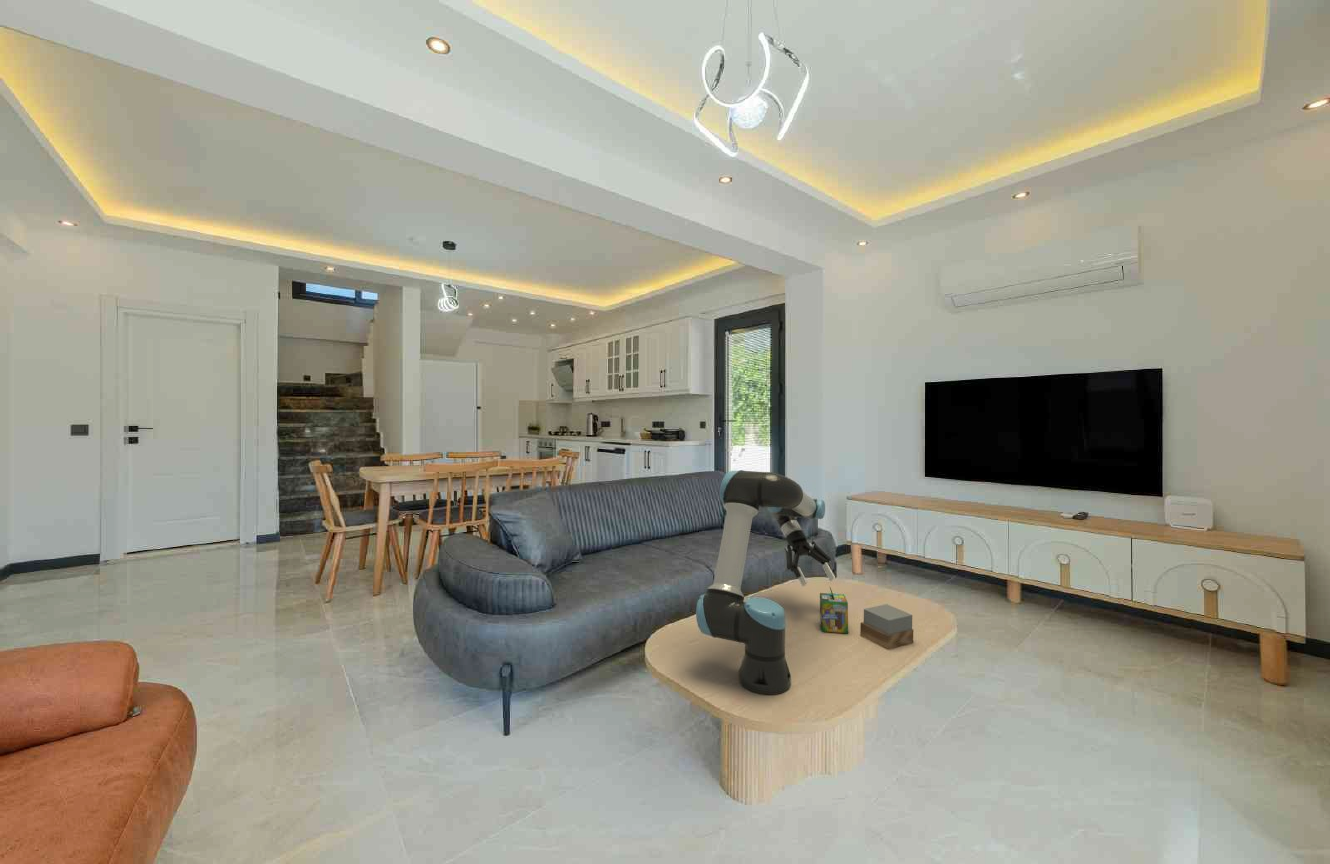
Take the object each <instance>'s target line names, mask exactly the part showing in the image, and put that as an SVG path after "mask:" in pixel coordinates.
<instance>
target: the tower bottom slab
mask: <svg viewBox="0 0 1330 864" xmlns="http://www.w3.org/2000/svg"><path fill="white" fill-rule="evenodd" d="M859 635H860V637H862V638H864V639H866V640H867V641H870V642H872V643H874V644H876V645H878V646H880V647H882V648H883V649H885V650H887V651H889V650H893V649H895V648H899V647H900V648H901V647H903V646H907V645H911V644H914V629H913V628H912V629H911V630H907V631H903V632H899V633H895V634H892V635H887V634H885V633H883V632H881V631H879V630H877V629H875V628H873V627H871V626H869V625H867V624H865V623H864V621H862V622H860V633H859Z"/></svg>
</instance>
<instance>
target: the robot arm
mask: <svg viewBox="0 0 1330 864" xmlns="http://www.w3.org/2000/svg"><path fill="white" fill-rule="evenodd" d="M719 492H720V493H719V499H720V502H721V503H722V504H723V508H724V510H725V511H726V516H725V520H724V525H723V526H724V527H723V532H722V537H721V540H720V541H721V542H720V548H719V552H718V557H717V561H716V562H717V563H716V568H715V572H714V578H713V582H712V585H710V586H708V587H707V588H706V589H707V590H706V593H704V594H701V595H700V596H699V599H698V600H697V603H696V610H695V617H696V624H697V627H698V629H699V631H700V632H701V633H702V634H704V635H706V636H710V637H712V638H715V639H716V638H718V639H722V640H725V641H726V640H727V641H731V642H736V643H741V644H743V645H744V655H743V658H742V661H741V664H740V667H739V670H738V681H739V684H740V685H741V686H742V687H743V688H745V689H746V690H748V691H750V692H752V693H755V694H760V695H761V694H762V695H778V694H782V693H785V692H786V691H788V690H789V689H790V688H791V685H792V675H791V672H790V669H789V666H788V665H789V664H788V663H787V659H786V653H785V652H786V625H787V623H786V616H785V615H786V613H785V610H784V608H783V607H782V606H781V605H780V604H779V603H778V602H776V601H774V600H772V599H770V598H765V597H761V596H759V597H755V596H753V597H748V598H747V599H746V600H745V595H744V594H743V592H742V591H741V588H742V587H741V586H742V582H743V576H744V571H745V565H746V559H747V552H748V548H749V547H748V546H749V539H750V535H751V531H752V530H751V529H752V523H753V518H754V517H755V516H757V515H758V514H759V510H760V508H767V510H768V511H769V512H770V514H771V515H772V517H773V518H774V519H775V521H776V522H777V524H778V527H779V529H780V531H781V533H782V534H783V536H784V538H785V540H786V542H787V545H786V546H785V548H784V551H785V555H786V570H789V571H791V572H793V573H794V575H795V577H796V578H798V580H799V582H800V584H801V586H802V587H805V586H807V584H808V581H807V579H806V577H805V575H804V573H803V571H802V570H801V567H800V566H798V564H799V560H800V557H802V556H808V557H811V558H813V559H814V560H816V561H817V562H818V563H820V564H821V565H822V569H823V571H824V572H825V574H826V576H827V577H828V580H829V581H830V582H831V581H833V580H834V579H835V578H836V576H835V574H834V572H833V571H832V569H833V568H832V567H831V564H830V563H829V562H830V561H832V558H831V556H829V555H828V554H827V553H826V552H824V550H823V549H821V548H820V547H819V545H817V543H816V542H815V541H814V540H812V541H811V542H808V541H807V536H806V534H805V533H804V531H803V530H802V527H801V525H800V524H799V522H798V520H797V518H803V519H812V520H813V519H814V520H822V519H824V517H825V514H826V504H825V501H824V500H823V499H818V498H812V497H810V496H809V495H808V494H807V493H806V492H805V491H804V490H803V488H802V487H801V485H800V484H799V483H798V482H796V481H795V480H793V479H791V478H789V477H787V476H784V475H782V474H780V473H777V472H772V471H770V472H769V471H767V472H766V471H754V470H753V471H752V470H744V469H740V470H730V471H728V472H727V473H726V474H725V475H724V476H723V479H722V480H721V484H720V488H719ZM793 553H794V554H793Z"/></svg>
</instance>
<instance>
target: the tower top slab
mask: <svg viewBox="0 0 1330 864" xmlns="http://www.w3.org/2000/svg"><path fill="white" fill-rule="evenodd" d="M863 622H864V623H865V624H867V625H869V626H871V627H873V628H875V629H877V630H879V631H881V632H883V633H885V634H887V635H892V634H895V633H899V632H903V631H907V630H911V629H913V614H912V613H908V612H906V611H904V610H901V609H899V608H898V607H895V606H892V605H890V604H888V603H885V604H881V605H876V606H871V607H866V608H863Z"/></svg>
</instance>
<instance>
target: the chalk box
mask: <svg viewBox="0 0 1330 864" xmlns="http://www.w3.org/2000/svg"><path fill="white" fill-rule="evenodd" d="M829 589H830V592H828V593H827V592H826V593H825V592H820V593H819V625H820V629H821V632H822V633H833V634H835V633H837V634H849V613H848V612H849V610H848V609H849V603H848V600H847V598H846V595H845V594H842V593H833V589H832V587H831V586H829Z"/></svg>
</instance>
